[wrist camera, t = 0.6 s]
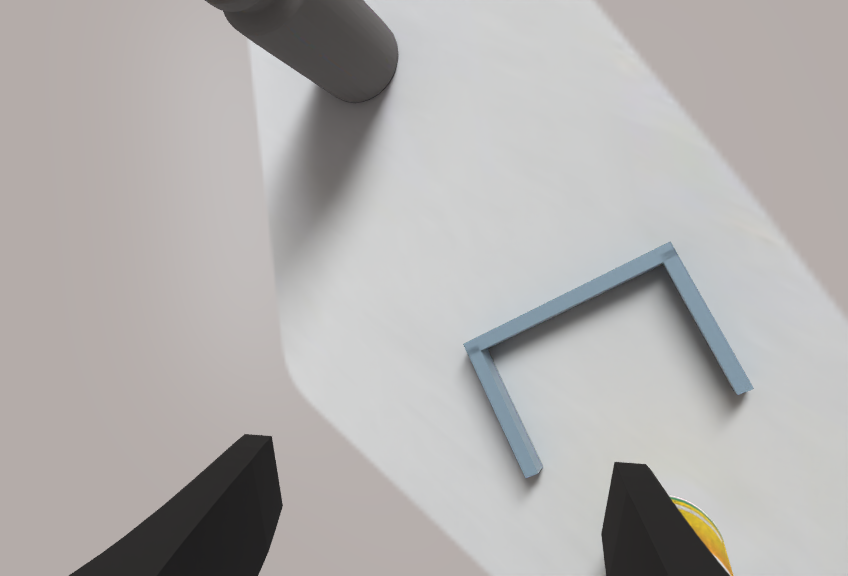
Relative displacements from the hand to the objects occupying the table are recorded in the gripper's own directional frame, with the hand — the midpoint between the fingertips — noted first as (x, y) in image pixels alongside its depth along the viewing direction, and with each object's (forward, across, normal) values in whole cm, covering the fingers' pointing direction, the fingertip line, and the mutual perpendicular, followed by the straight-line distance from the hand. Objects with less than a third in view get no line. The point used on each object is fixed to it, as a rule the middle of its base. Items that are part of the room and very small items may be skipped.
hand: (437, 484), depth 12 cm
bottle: (+33, +8, -6) cm, 34 cm away
